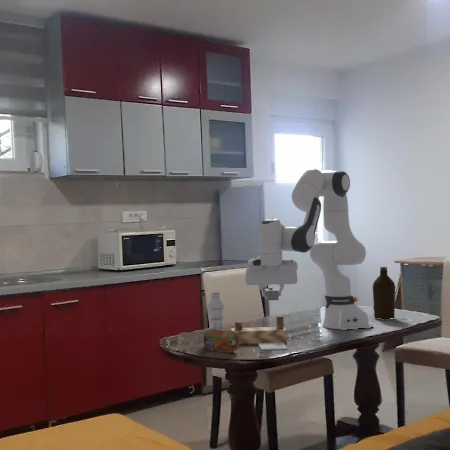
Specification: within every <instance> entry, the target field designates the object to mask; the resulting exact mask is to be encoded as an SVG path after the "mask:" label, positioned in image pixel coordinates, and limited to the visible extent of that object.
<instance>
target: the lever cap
mask: <svg viewBox="0 0 450 450" xmlns="http://www.w3.org/2000/svg"><path fill="white" fill-rule="evenodd" d="M264 291H266V296H264V299H265V300H267V301H280V299H279V298H280V296H279V289H277V288H274V287H272V286H269V287H268V288H264Z"/></svg>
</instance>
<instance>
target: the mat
mask: <svg viewBox="0 0 450 450" xmlns="http://www.w3.org/2000/svg"><path fill="white" fill-rule="evenodd" d="M257 346H258V347H259V349H260V351H283V350H285V351H286V350H288V347H287V345H285V342H277V343H257Z"/></svg>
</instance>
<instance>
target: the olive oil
mask: <svg viewBox="0 0 450 450" xmlns="http://www.w3.org/2000/svg"><path fill="white" fill-rule="evenodd" d="M379 269H380V270H379V276H378V277H376V279H375V280H374V282H373V283H372V301H373V306H372V309H373V315H374V317H375V318H381V319H390V318H394V319H395V311H396V310H395V307H396V304H395V302H396V284H395V282H394V281H393V279H392V278H391V277H390V276H389V275H388V267H387V266H380V267H379ZM375 318H374V319H375Z"/></svg>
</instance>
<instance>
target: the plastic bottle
mask: <svg viewBox="0 0 450 450" xmlns="http://www.w3.org/2000/svg"><path fill="white" fill-rule="evenodd" d="M210 296H211V297H210V298H211V300H210V301H209V303H208V304H207V311H208V315H209V316H208V317H209V327H208V328H209V329H208V330H210V329H220V330H224V323H223V319H224V318H223V317H224V308H225V306H224V303H223V301H222V300H221V292H212V293H210Z"/></svg>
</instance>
